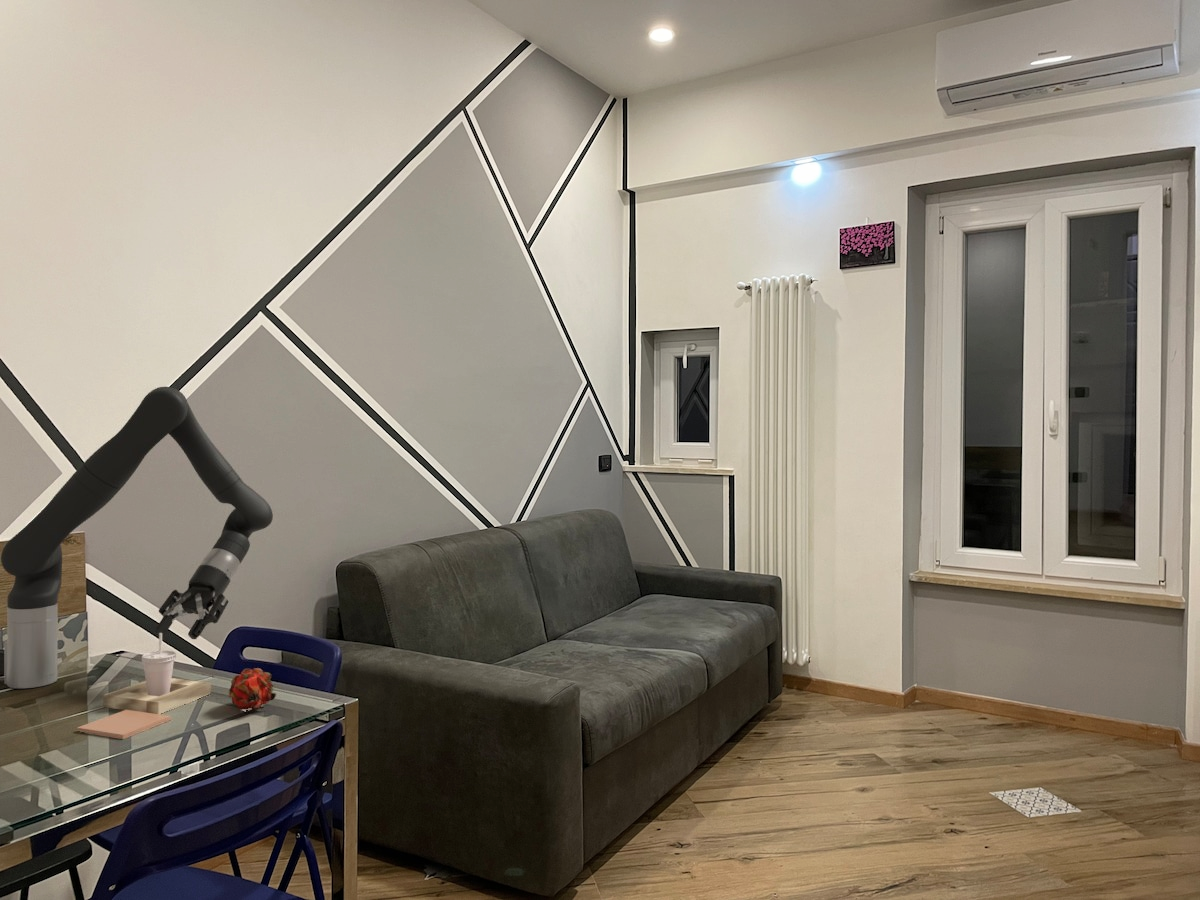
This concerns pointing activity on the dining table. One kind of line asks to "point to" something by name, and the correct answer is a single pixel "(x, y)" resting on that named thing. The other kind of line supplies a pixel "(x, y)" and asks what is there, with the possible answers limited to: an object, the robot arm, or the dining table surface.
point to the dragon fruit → (251, 689)
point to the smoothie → (158, 670)
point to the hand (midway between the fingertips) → (175, 635)
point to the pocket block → (142, 702)
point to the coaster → (124, 724)
